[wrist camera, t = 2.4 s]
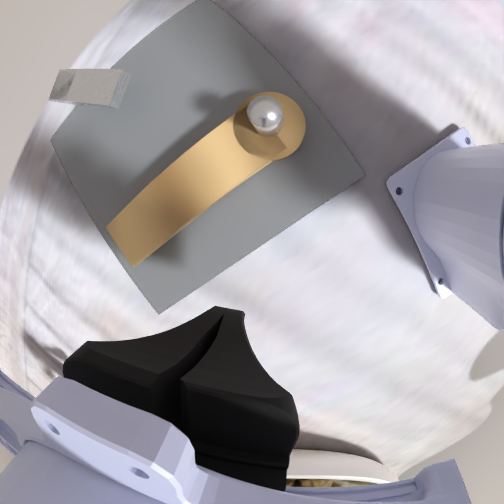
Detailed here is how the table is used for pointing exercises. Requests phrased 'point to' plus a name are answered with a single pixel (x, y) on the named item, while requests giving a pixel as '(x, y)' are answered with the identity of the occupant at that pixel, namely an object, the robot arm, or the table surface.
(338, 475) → the bowl
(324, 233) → the table surface
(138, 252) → the link
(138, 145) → the base plate
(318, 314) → the table surface
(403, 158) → the table surface
